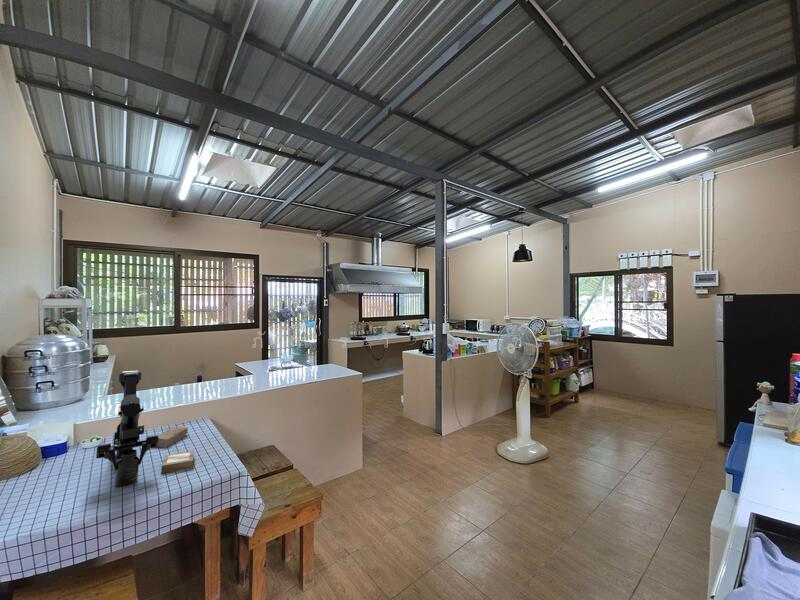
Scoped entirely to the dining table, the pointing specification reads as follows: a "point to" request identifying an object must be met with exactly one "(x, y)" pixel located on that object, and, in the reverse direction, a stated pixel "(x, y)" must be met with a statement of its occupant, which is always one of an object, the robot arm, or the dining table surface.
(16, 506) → the dining table surface
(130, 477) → the supplement bottle
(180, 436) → the brick
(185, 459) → the plate
